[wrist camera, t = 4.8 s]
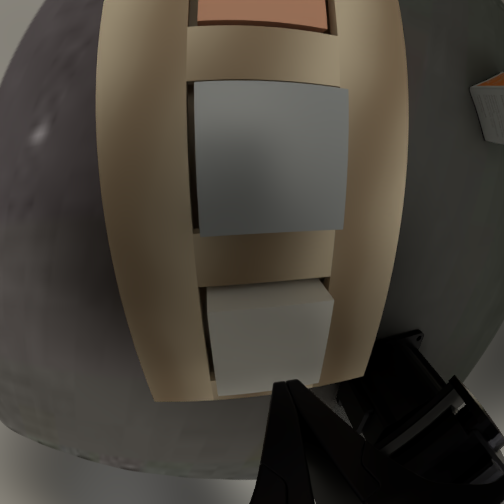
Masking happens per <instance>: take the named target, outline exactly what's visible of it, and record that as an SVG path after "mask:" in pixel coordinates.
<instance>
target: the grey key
mask: <svg viewBox="0 0 504 504" xmlns="http://www.w3.org/2000/svg"><path fill="white" fill-rule="evenodd" d="M194 120H195V155H196V178H197V197H198V213H199V228H200V237H210V236H226V235H242V234H260V233H278V232H298V231H319V230H342V229H343V225H344V213H345V201H346V186H347V167H348V136H349V94H348V89H343V88H337V87H330V86H322V85H313V84H303V83H291V82H276V81H202V82H194Z"/></svg>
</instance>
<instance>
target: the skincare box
mask: <svg viewBox="0 0 504 504" xmlns="http://www.w3.org/2000/svg"><path fill="white" fill-rule="evenodd" d="M470 93H471V96H472V98H473V101H474V104H475V107H476V110H477V113H478V117H479V120H480V124H481V128H482V131H483V135H484V138H485V141H488V142H493V143H498V144H503V145H504V72H501V73H499V74H498V75H496V76H494V77H492V78H490V79H488V80H486V81H483V82H481V83H478V84H476V85H474V86H471V87H470Z"/></svg>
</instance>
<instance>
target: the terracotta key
mask: <svg viewBox="0 0 504 504" xmlns="http://www.w3.org/2000/svg"><path fill="white" fill-rule="evenodd" d="M197 23H198V26H216V25H243V26H265V27H278V28H288V29H297V30H304V31H311V32H317V33H323V32H324V31H326V30H327V16H326V5H325V0H198V17H197Z"/></svg>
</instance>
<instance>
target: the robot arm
mask: <svg viewBox="0 0 504 504" xmlns="http://www.w3.org/2000/svg"><path fill="white" fill-rule="evenodd" d="M423 337H424V334H423V333H422V332H421V331H420V330H418V331H414V332H410V333H407V334H403V335H399V336H395V337H391V338H387V339H383V340H379V341H375V342H374V345H373V348H372V351H371V355H370V358H369V361H368V364H367V367H366V370H365V373H364V376H362V377H358V378H354V379H350V380H346V381H341V385H340V388H339V391H338V397H337V403H338V405H339V406H343V408H344V410H345V412H346V414H347V416H348V418H349V420H350V423H351V425H352V427H353V428H352V427H350V426H349V425H348V424H347V423H346V422H345V421H343V420H342V419H341V418H340V417H339V416H338V415H337V414H336V413H334V412H333V411H332V410H331V409H330V408H329V407H328V406H327V405H325V404H324V403H323V402H322V401H321V400H320V399H319V398H318V397H317V396H316V395H314V394H313V393H312V392H311V391H310V390H309V389H308V388H307V387H306V386H305V385H304V384H303V383H302V382H300V381H299V380H298V379H293V380H287V381H286V382H285V381H279V382H274V383H273V387H272V394H271V400H270V407H269V413H268V420H267V426H266V432H265V438H264V444H263V450H262V456H261V461H260V466H259V472H258V477H257V481H256V485H255V489H254V492H253V495H252V498H251V501H250V503H249V504H315V502H316V504H504V457H503V455H502V453H501V451H500V449H501V448H502V447H503V446H504V436H503V435H502V433H501V432H500V430H499V429H498V427H497V426H496V425H495V423H494V422H493V421H492V419H491V418H490V416H489V415H488V414H487V412H486V411H485V409H484V408H483V407H482V405H481V404H480V403H479V402H478V401H477V399H476V398H475V397H474V396H473V394H472V393H471V392H470V391H469V390H468V389H467V387H466V386H465V385H464V384H463V383H462V382H461V381H460V380H459V379H458V378H457V377H456V376H455V375H454V376H453V377H452V378H451V379H450V380H449V383H448V384H446V383H445V382H444V381H443V379H442V378H441V377H440V376H439V374H438V373H437V372H436V371H435V370H434V368H433V367H432V366H431V365H430V363H429V362H428V361H427V360H426V359H425V357H424V356H423V355H422V354H421V353H420V352H419V350H418V349H419V347H420V345H421V342H422V339H423ZM464 402H465V404H466V405H465V406H464V407H463V408H461V409H460V410H458V409H457V408H458V407H460V406H461V405H462V404H463V403H464ZM362 433H363V435H364V437H365V439H364V438H363V437H362V436H361V435H360V434H362ZM314 499H315V502H314Z"/></svg>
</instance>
